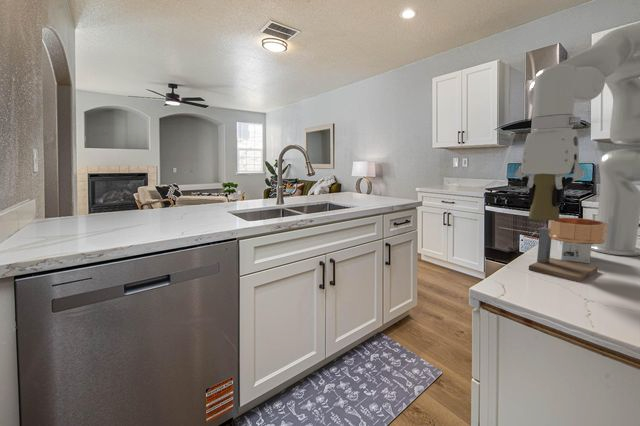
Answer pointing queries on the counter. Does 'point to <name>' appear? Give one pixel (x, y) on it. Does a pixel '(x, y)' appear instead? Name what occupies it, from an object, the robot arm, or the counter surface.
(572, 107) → the robot arm
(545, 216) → the cork
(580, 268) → the cup bracket
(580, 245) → the light bulb box
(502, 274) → the counter surface
